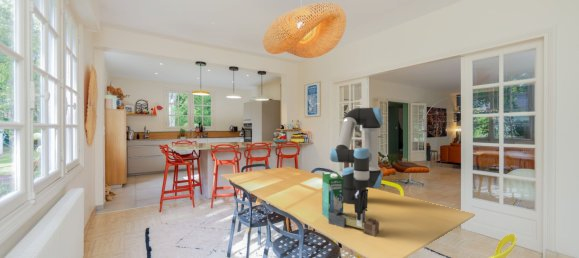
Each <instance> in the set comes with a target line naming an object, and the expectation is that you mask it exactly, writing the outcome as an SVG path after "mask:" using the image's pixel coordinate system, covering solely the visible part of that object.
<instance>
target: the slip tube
mask: <svg viewBox="0 0 579 258" xmlns="http://www.w3.org/2000/svg"><path fill="white" fill-rule="evenodd" d="M341 216H343V217H345V224H346V225H347V226H350V227H354V228H358V229H362V230H364V222H366V221H367V220H366V211H365V209H363V208H362V227H360V226H357V217H352V216H350V215H349V216H345V215H341Z"/></svg>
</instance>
